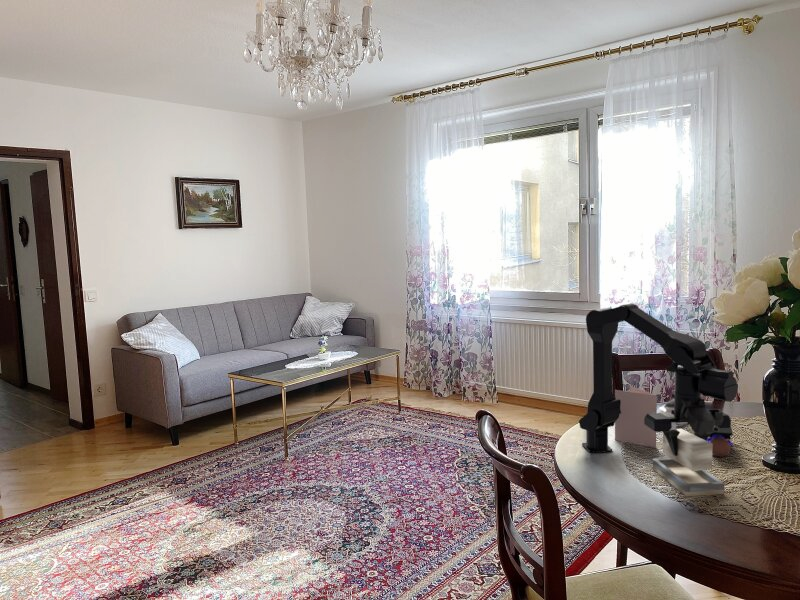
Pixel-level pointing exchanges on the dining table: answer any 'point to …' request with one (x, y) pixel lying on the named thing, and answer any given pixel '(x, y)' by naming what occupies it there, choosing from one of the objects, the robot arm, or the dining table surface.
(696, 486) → the jig board
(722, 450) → the figurine character
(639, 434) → the greeting card
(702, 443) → the block
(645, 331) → the robot arm
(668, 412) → the inkwell
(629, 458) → the dining table surface
